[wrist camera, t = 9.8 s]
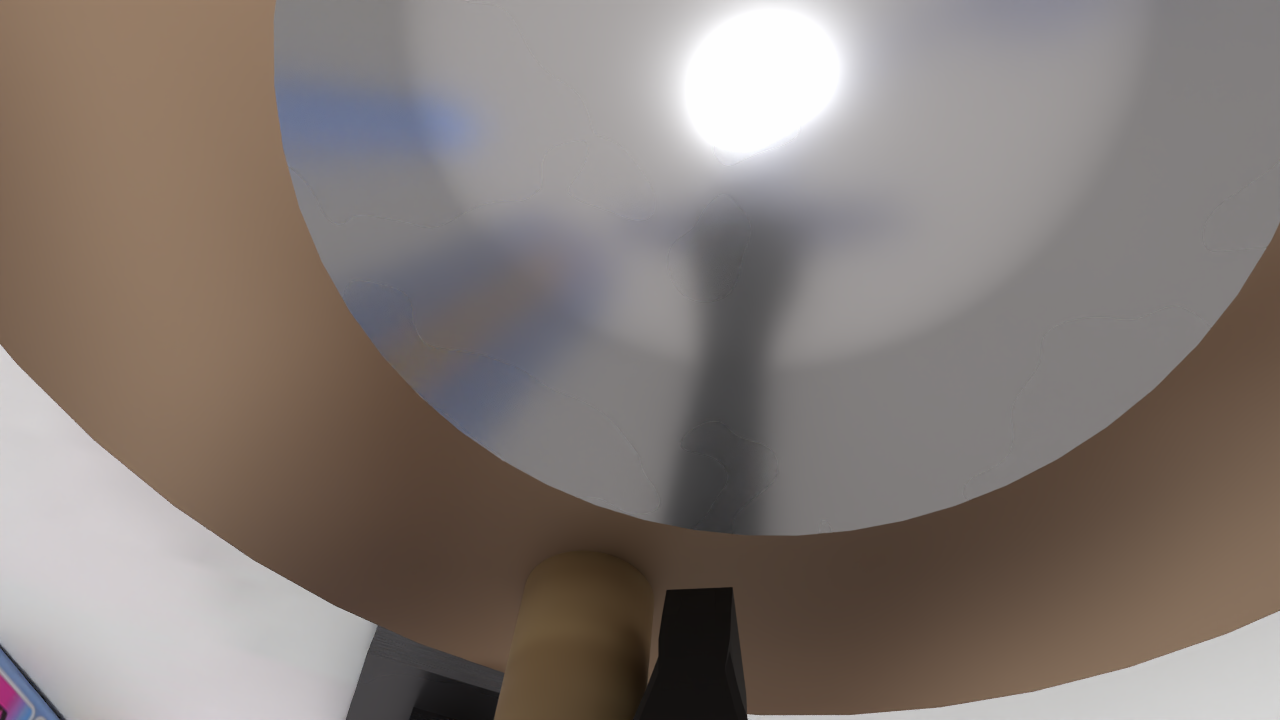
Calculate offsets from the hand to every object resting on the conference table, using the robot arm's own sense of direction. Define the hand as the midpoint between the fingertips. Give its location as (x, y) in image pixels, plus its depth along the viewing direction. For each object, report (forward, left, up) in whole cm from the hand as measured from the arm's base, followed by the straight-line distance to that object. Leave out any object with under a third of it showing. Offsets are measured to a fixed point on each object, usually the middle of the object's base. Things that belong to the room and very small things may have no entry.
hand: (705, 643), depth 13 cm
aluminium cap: (-1, -7, -1) cm, 7 cm away
